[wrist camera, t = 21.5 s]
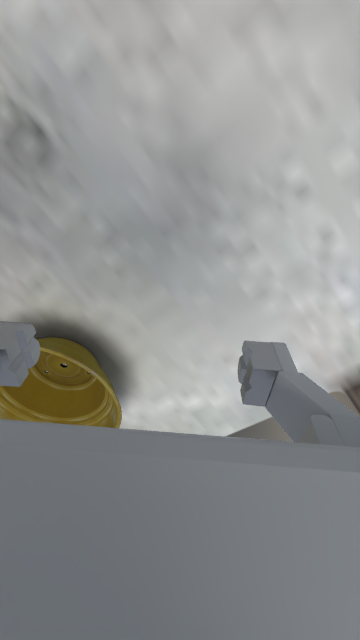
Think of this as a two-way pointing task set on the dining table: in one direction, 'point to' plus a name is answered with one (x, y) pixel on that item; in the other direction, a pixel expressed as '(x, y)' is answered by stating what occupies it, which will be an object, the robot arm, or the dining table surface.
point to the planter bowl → (63, 389)
